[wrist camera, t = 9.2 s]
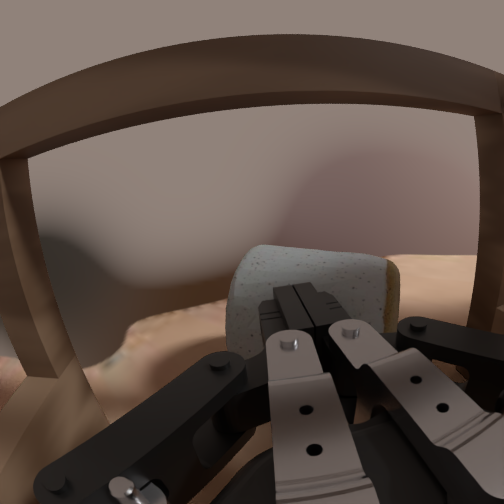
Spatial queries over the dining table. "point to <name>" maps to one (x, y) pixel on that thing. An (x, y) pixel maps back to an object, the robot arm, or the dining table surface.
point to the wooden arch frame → (183, 104)
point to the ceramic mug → (322, 278)
